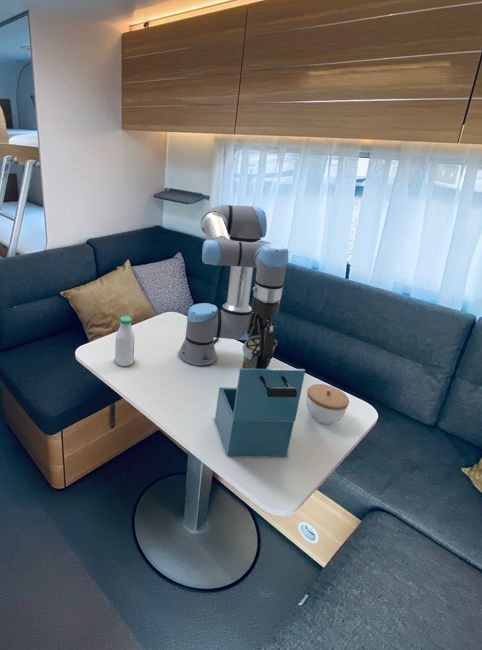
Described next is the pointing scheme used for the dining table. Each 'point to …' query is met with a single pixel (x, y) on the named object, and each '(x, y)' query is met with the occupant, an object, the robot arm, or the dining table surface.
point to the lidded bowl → (326, 403)
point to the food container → (253, 352)
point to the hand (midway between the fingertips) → (255, 366)
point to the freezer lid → (268, 394)
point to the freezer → (249, 431)
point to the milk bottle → (124, 343)
